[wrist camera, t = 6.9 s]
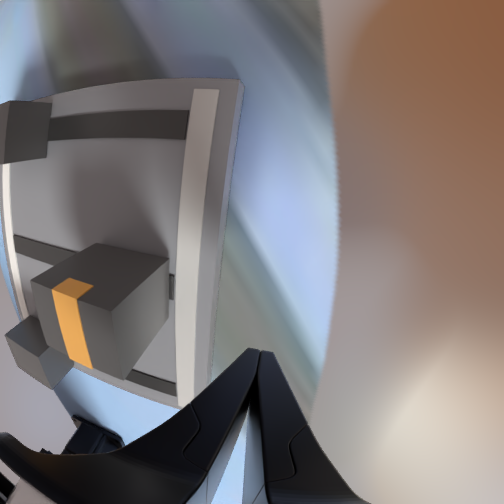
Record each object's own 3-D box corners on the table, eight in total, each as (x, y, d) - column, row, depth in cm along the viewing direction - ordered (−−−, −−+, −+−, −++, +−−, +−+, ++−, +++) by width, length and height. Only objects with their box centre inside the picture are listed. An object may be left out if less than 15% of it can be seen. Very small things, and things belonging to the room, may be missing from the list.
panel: (209, 403, 16) (191, 454, 12) (36, 334, 17) (6, 360, 13) (244, 87, 10) (219, 51, 6) (16, 109, 11) (-31, 111, 7)
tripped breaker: (169, 318, 12) (123, 382, 8) (101, 298, 13) (46, 346, 8) (169, 257, 11) (110, 310, 7) (96, 241, 12) (28, 279, 7)
